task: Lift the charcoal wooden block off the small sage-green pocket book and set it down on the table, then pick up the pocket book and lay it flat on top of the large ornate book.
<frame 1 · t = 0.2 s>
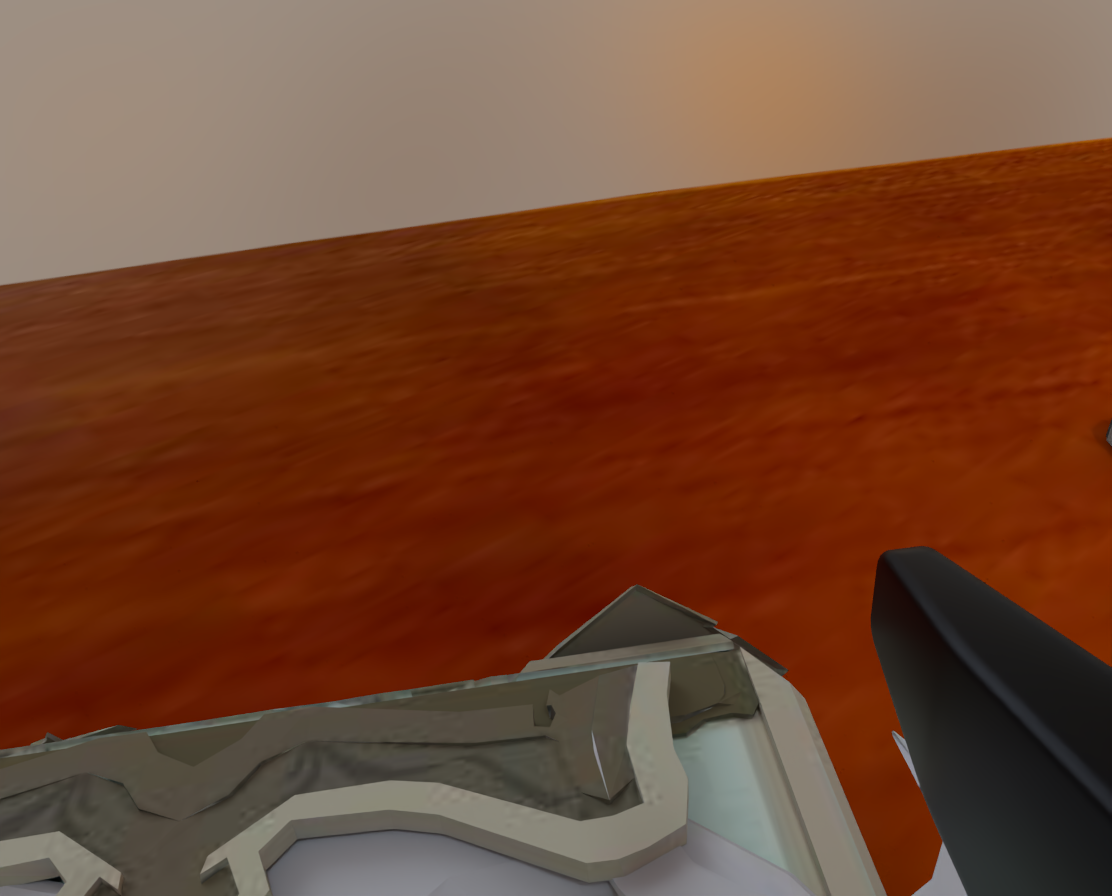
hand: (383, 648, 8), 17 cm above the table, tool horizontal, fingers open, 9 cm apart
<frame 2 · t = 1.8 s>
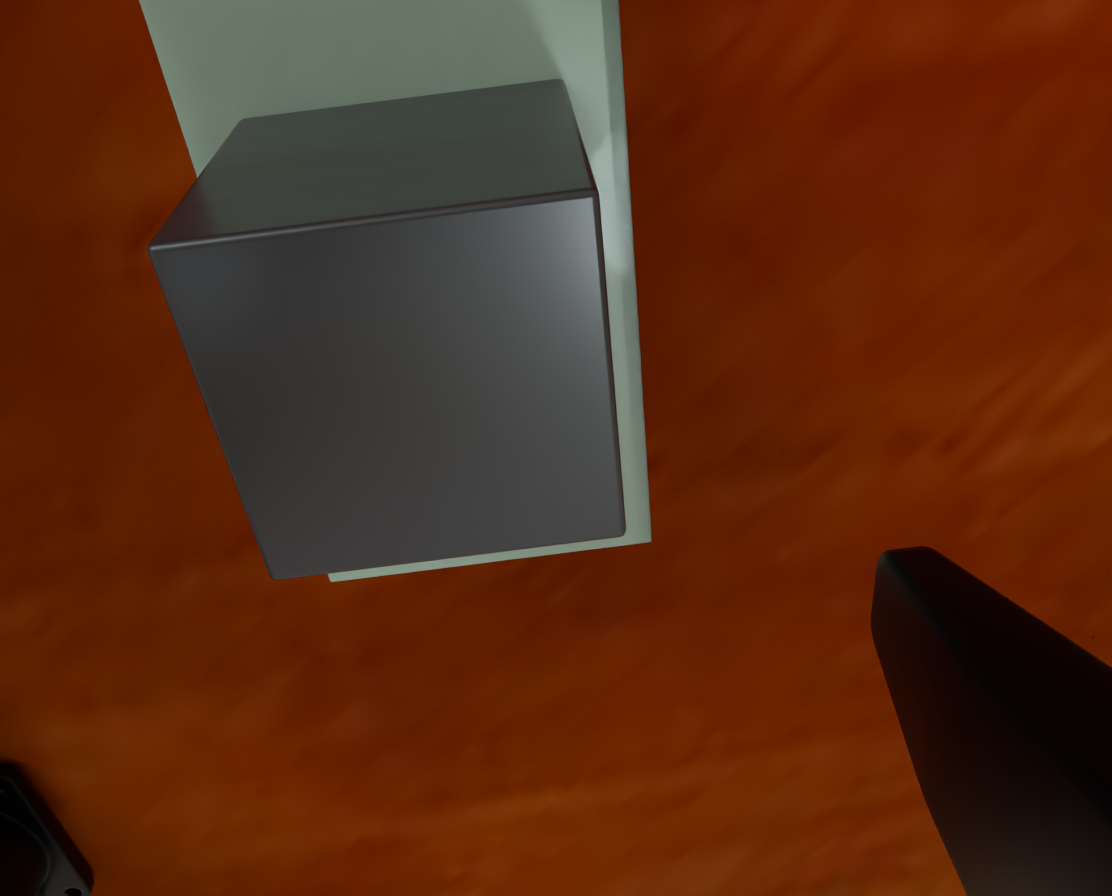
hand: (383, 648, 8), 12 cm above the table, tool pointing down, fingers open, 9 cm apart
block: (430, 250, 16), point 3 cm above the table, touching pocket book
pocket book: (437, 185, 18), on the table, touching block
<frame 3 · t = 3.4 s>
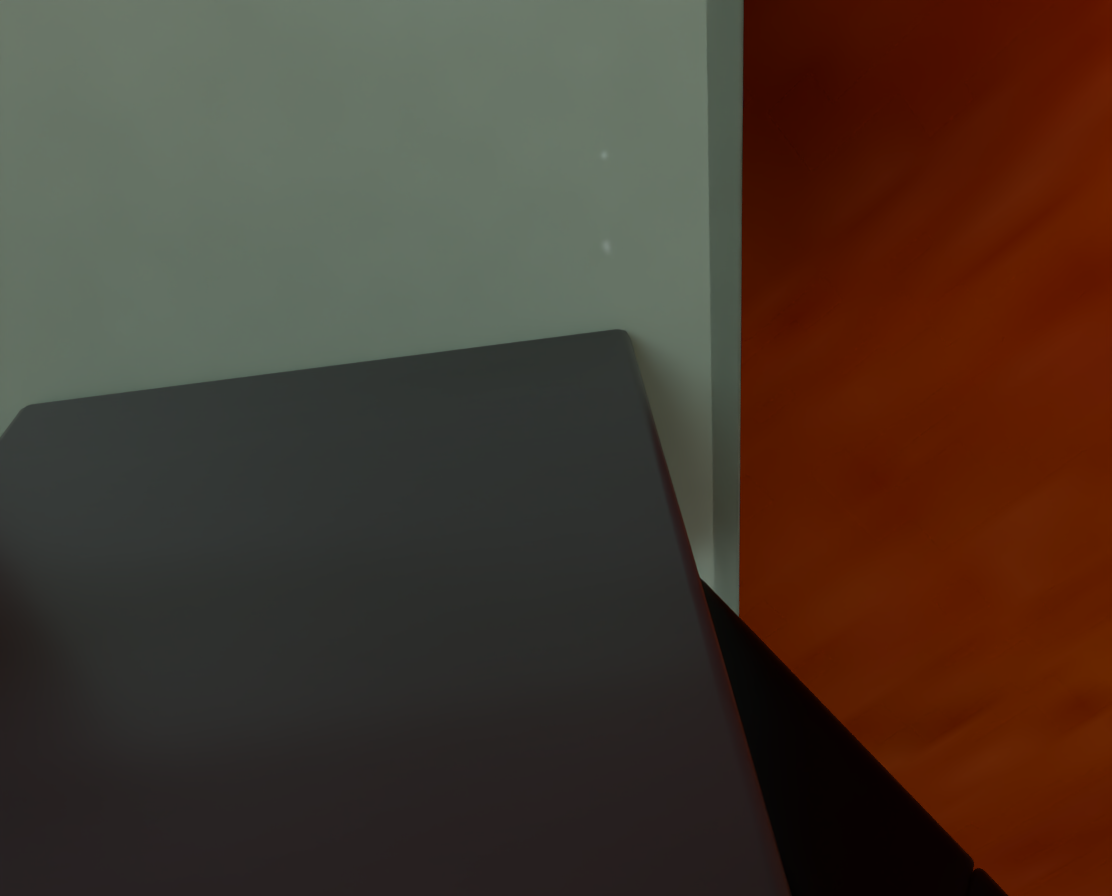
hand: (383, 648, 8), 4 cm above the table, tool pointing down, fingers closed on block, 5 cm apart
block: (387, 585, 9), point 3 cm above the table, touching gripper, pocket book
pocket book: (410, 409, 12), on the table, touching block
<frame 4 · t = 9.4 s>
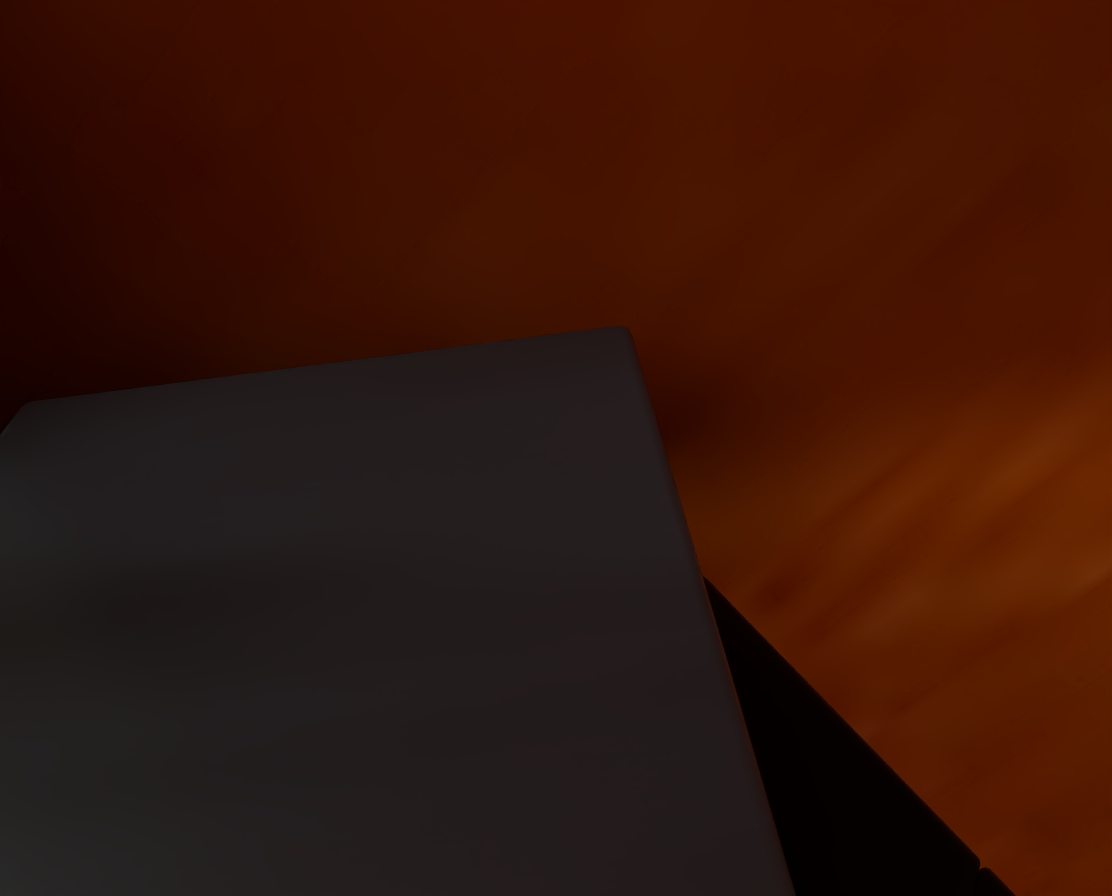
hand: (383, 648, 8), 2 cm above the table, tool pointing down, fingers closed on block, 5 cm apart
block: (388, 583, 9), point 1 cm above the table, touching gripper
when the fingers open (2 cm above the table, at t = 10.3 s): block stays where it is, on the table.
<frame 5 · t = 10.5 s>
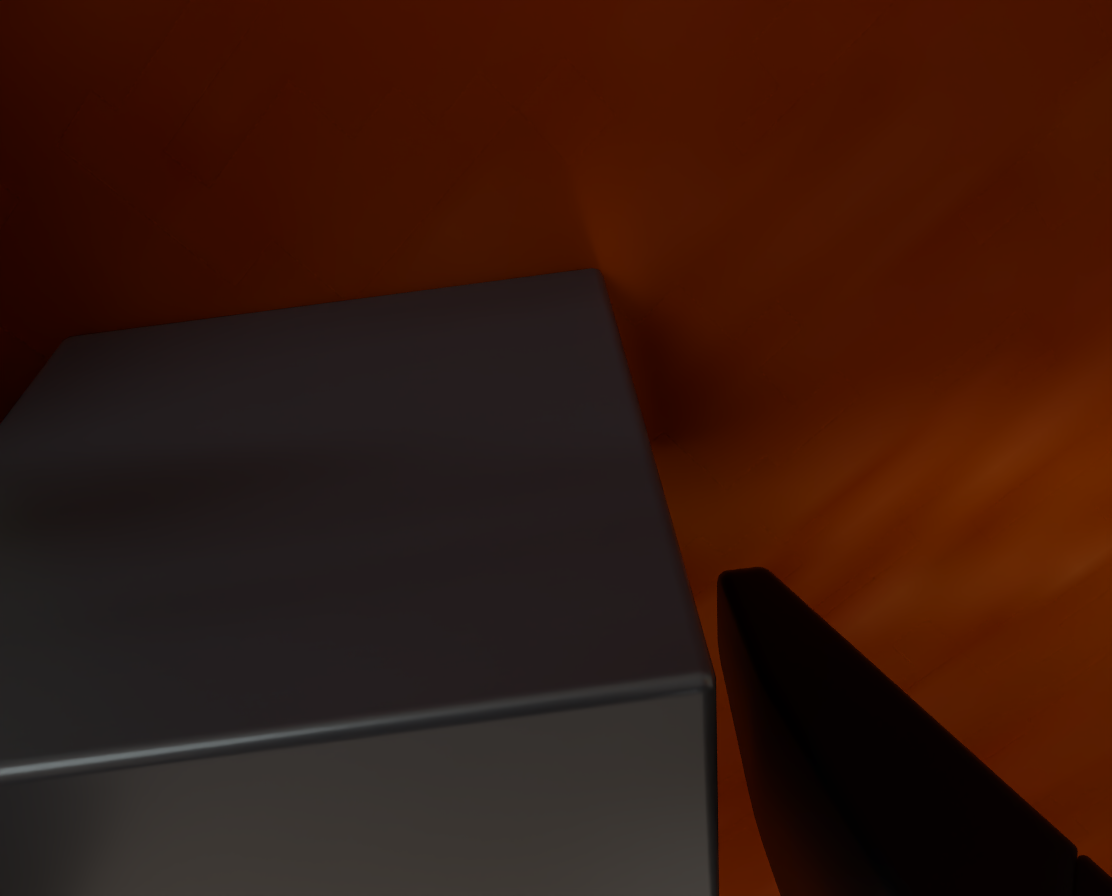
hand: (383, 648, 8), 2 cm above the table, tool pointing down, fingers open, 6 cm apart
block: (388, 509, 10), on the table
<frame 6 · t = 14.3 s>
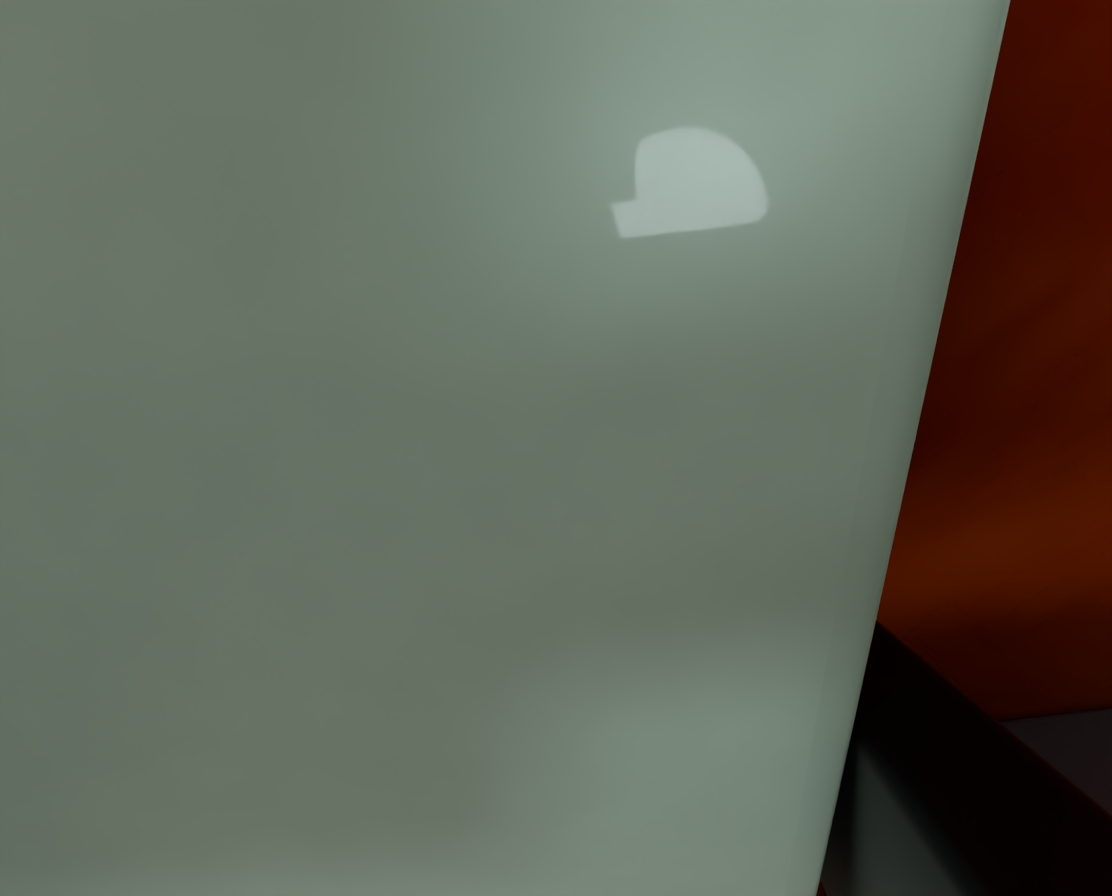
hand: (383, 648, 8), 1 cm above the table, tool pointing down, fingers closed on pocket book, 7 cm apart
block: (1015, 833, 13), on the table
pocket book: (387, 552, 9), on the table, touching gripper
when the fingers open (9 cm above the table, at t = 19.4 s): pocket book stays where it is, resting on ornate book.
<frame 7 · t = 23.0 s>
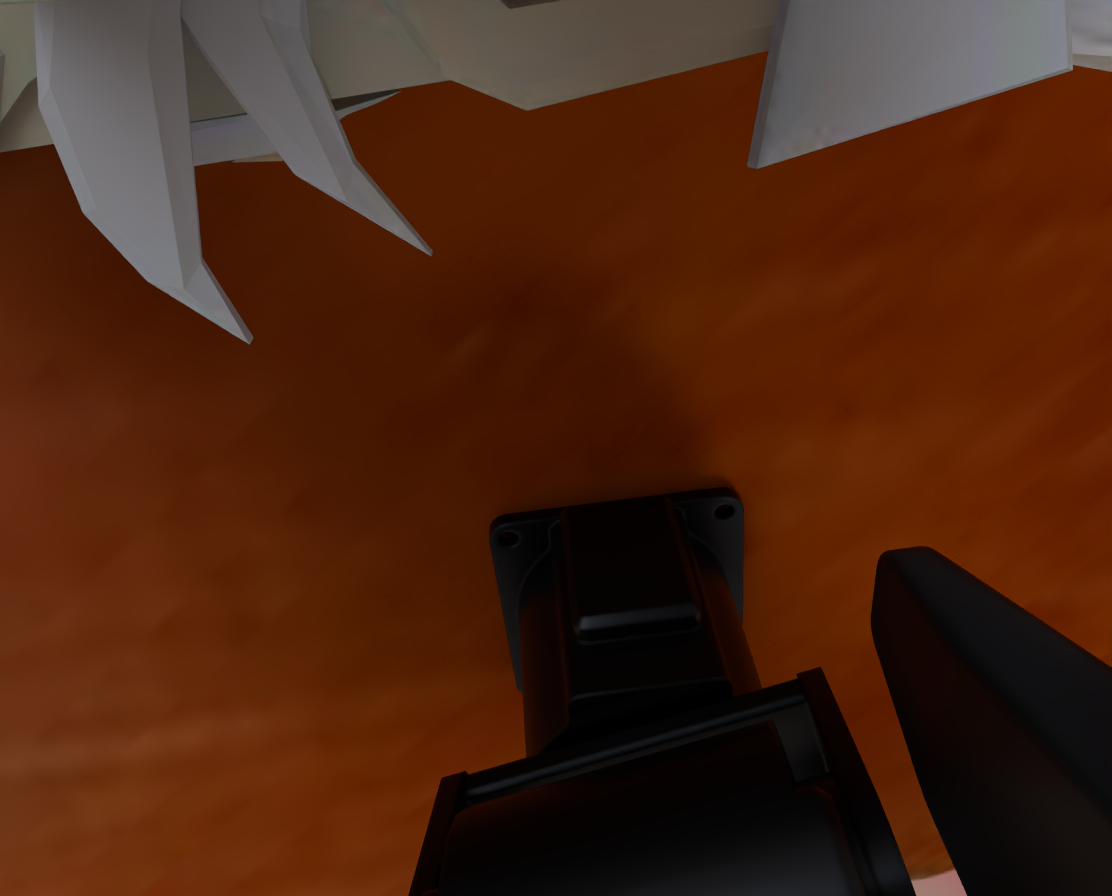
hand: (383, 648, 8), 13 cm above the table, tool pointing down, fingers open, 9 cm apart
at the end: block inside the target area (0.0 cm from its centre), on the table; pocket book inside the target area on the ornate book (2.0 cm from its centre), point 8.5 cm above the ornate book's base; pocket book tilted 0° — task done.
